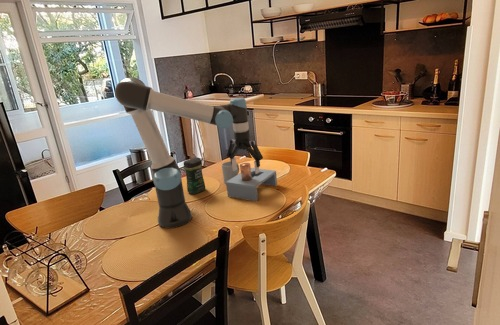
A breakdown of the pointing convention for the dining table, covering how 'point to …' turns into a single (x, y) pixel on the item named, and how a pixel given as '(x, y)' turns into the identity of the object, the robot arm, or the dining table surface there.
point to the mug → (229, 171)
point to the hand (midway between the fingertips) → (246, 171)
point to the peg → (245, 171)
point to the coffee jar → (194, 175)
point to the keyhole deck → (250, 184)
